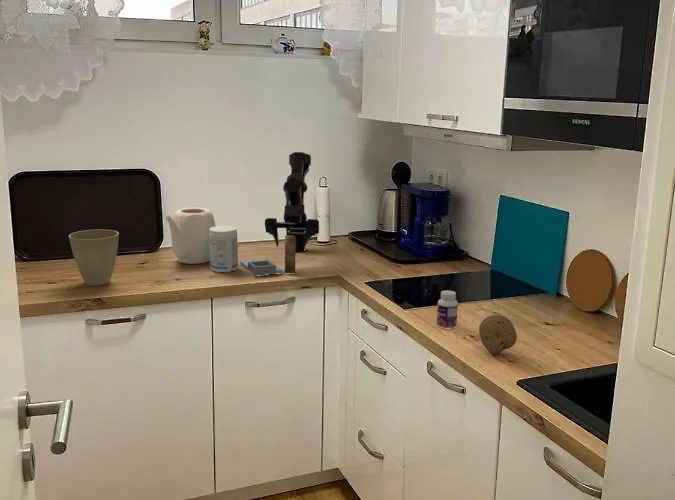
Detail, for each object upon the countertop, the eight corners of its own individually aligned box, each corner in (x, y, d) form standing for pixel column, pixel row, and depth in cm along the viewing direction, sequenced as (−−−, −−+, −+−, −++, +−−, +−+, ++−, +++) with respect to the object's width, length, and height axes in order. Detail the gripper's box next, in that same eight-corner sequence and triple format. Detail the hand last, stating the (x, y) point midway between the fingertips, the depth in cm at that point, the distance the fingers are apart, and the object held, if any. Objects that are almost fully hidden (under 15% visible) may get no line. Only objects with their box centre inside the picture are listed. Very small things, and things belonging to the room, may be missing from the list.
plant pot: (121, 274, 228) (118, 228, 224) (121, 287, 214) (119, 238, 210) (73, 277, 223) (69, 230, 219) (70, 291, 209) (67, 240, 205)
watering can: (150, 267, 238) (148, 214, 233) (197, 251, 261) (196, 202, 257) (186, 273, 231) (184, 218, 227) (231, 256, 255) (230, 206, 250)
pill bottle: (432, 324, 188) (434, 290, 185) (449, 322, 190) (451, 288, 188) (443, 331, 183) (445, 296, 181) (460, 328, 185) (462, 294, 183)
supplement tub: (229, 264, 243) (228, 224, 240) (243, 270, 236) (242, 229, 233) (204, 268, 237) (203, 227, 234) (218, 275, 230) (217, 232, 227)
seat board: (240, 265, 243) (240, 255, 242) (267, 262, 247) (267, 253, 246) (254, 277, 228) (254, 267, 228) (282, 274, 232) (282, 264, 232)
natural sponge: (506, 346, 173) (510, 309, 171) (521, 360, 165) (524, 321, 162) (472, 347, 172) (475, 310, 169) (485, 361, 163) (488, 322, 161)
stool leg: (283, 272, 235) (283, 235, 232) (293, 271, 237) (293, 234, 233) (286, 275, 232) (287, 237, 229) (296, 274, 233) (297, 237, 230)
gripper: (265, 195, 235) (261, 232, 227) (319, 196, 235) (317, 234, 227) (268, 213, 245) (264, 250, 236) (320, 214, 244) (318, 252, 236)
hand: (290, 246), depth 234 cm, fingers open, 9 cm apart
